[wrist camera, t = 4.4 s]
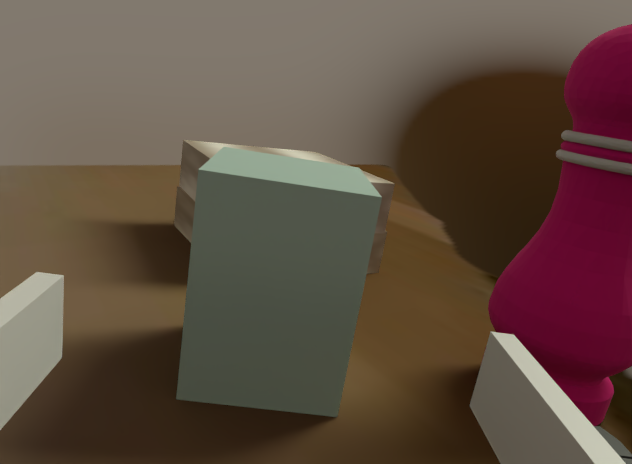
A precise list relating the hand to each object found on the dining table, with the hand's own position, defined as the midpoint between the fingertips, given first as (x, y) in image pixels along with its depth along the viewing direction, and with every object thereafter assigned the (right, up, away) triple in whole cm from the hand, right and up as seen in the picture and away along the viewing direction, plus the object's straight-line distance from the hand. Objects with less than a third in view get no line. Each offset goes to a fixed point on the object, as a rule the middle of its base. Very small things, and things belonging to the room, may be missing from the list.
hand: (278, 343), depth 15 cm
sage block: (-2, -3, +10) cm, 10 cm away
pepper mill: (+13, -5, +11) cm, 18 cm away
